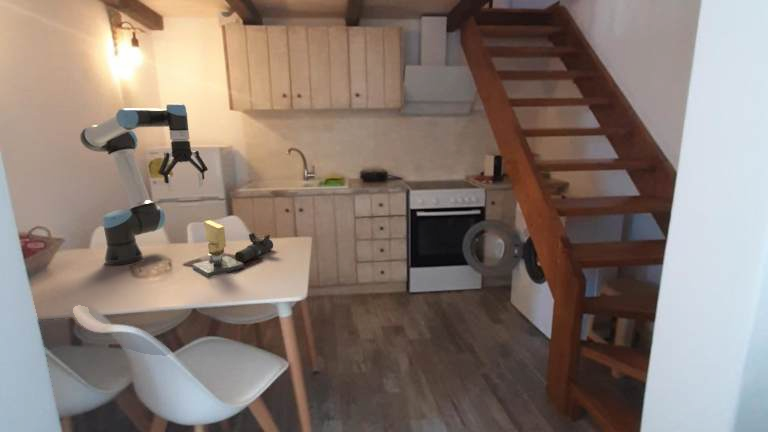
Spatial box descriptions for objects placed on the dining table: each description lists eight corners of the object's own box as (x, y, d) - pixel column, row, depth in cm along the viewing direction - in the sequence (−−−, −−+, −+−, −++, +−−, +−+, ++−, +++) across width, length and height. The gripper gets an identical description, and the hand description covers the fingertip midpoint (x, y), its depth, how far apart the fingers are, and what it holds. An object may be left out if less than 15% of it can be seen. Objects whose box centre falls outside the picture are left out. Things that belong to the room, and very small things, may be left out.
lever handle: (216, 258, 176) (213, 228, 173) (202, 250, 188) (199, 222, 185) (231, 255, 181) (228, 226, 178) (217, 247, 192) (214, 219, 189)
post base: (193, 268, 186) (191, 253, 184) (227, 259, 197) (226, 245, 195) (208, 277, 175) (206, 261, 173) (243, 267, 186) (242, 252, 184)
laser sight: (232, 262, 194) (230, 242, 191) (262, 248, 214) (260, 229, 212) (249, 264, 190) (247, 244, 188) (278, 250, 211) (276, 231, 208)
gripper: (152, 142, 170) (159, 193, 175) (212, 139, 187) (217, 186, 192) (146, 141, 175) (153, 191, 180) (205, 139, 193) (210, 184, 197)
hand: (186, 188), depth 186 cm, fingers open, 13 cm apart
